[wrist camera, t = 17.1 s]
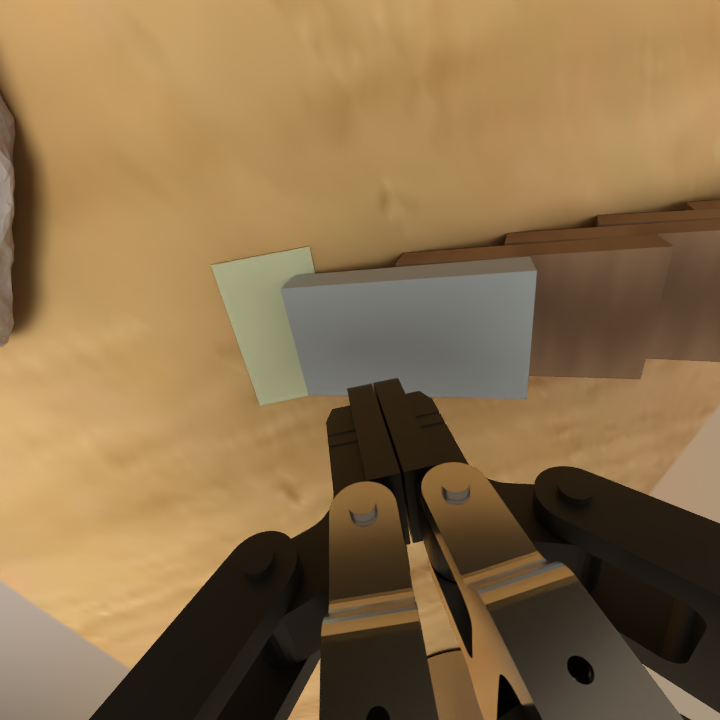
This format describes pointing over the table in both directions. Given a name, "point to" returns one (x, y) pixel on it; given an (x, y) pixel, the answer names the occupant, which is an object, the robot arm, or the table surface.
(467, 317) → the domino
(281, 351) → the pad
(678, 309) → the domino
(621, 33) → the table surface
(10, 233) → the stone block
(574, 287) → the domino
